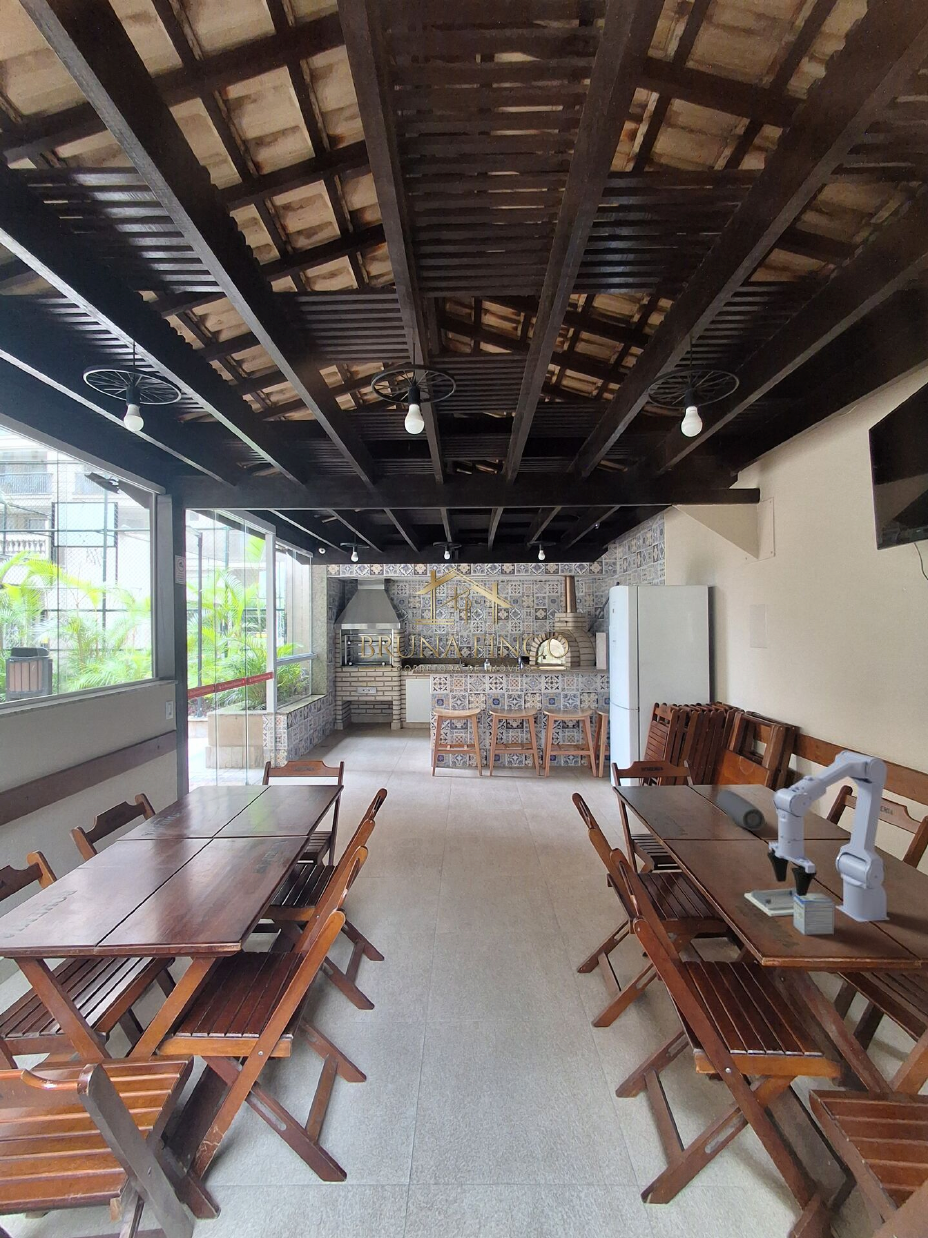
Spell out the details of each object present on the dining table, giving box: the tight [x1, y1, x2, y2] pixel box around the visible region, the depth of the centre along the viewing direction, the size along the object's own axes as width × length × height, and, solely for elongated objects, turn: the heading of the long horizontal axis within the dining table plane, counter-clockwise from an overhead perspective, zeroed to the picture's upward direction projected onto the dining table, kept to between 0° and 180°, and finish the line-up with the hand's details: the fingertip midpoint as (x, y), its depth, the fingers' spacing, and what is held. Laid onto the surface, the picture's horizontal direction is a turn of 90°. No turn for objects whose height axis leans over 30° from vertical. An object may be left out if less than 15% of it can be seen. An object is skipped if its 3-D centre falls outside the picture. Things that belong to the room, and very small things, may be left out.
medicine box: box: [793, 892, 835, 936], centre depth 143 cm, size 8×4×9 cm, turn 92°
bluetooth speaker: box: [715, 789, 766, 831], centre depth 218 cm, size 23×9×10 cm, turn 179°
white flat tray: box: [744, 886, 797, 917], centre depth 156 cm, size 15×11×3 cm
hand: (791, 888), depth 145 cm, fingers open, 7 cm apart
